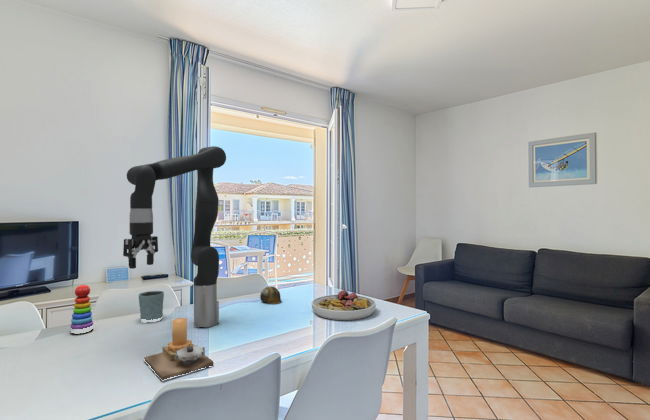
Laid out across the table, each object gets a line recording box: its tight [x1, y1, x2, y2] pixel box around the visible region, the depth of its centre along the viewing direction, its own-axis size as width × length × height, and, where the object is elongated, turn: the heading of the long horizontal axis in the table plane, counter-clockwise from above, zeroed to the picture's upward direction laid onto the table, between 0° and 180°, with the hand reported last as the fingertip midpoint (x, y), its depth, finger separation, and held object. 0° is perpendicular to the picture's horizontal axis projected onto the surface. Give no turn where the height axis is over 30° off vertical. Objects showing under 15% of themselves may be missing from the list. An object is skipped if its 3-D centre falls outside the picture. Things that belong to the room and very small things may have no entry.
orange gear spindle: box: [166, 317, 193, 353], centre depth 115 cm, size 8×8×11 cm
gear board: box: [143, 343, 214, 380], centre depth 111 cm, size 15×18×6 cm
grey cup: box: [138, 290, 165, 320], centre depth 155 cm, size 10×10×12 cm
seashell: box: [259, 286, 282, 305], centre depth 185 cm, size 11×9×8 cm
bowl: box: [311, 289, 377, 321], centre depth 167 cm, size 30×30×8 cm
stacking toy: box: [70, 284, 94, 329], centre depth 141 cm, size 8×8×19 cm
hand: (141, 266), depth 127 cm, fingers open, 8 cm apart
